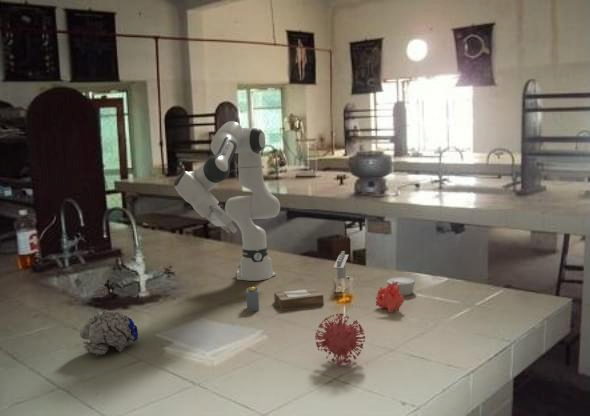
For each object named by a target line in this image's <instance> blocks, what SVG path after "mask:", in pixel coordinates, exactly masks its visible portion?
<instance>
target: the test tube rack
mask: <svg viewBox="0 0 590 416" xmlns="http://www.w3.org/2000/svg"><path fill="white" fill-rule="evenodd" d="M349 255H350V254H346V251H345V250H343V251H341V252H340V254H338V257H337V259H336V261H335V263H334V265H333V269H337V280H338V279H341V278H345V277H349V278H350V275H349V276H348V275H346V273H347V272H346V263H347V260H348V258H349ZM334 292H335V289H334V290H333V293H334Z"/></svg>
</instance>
